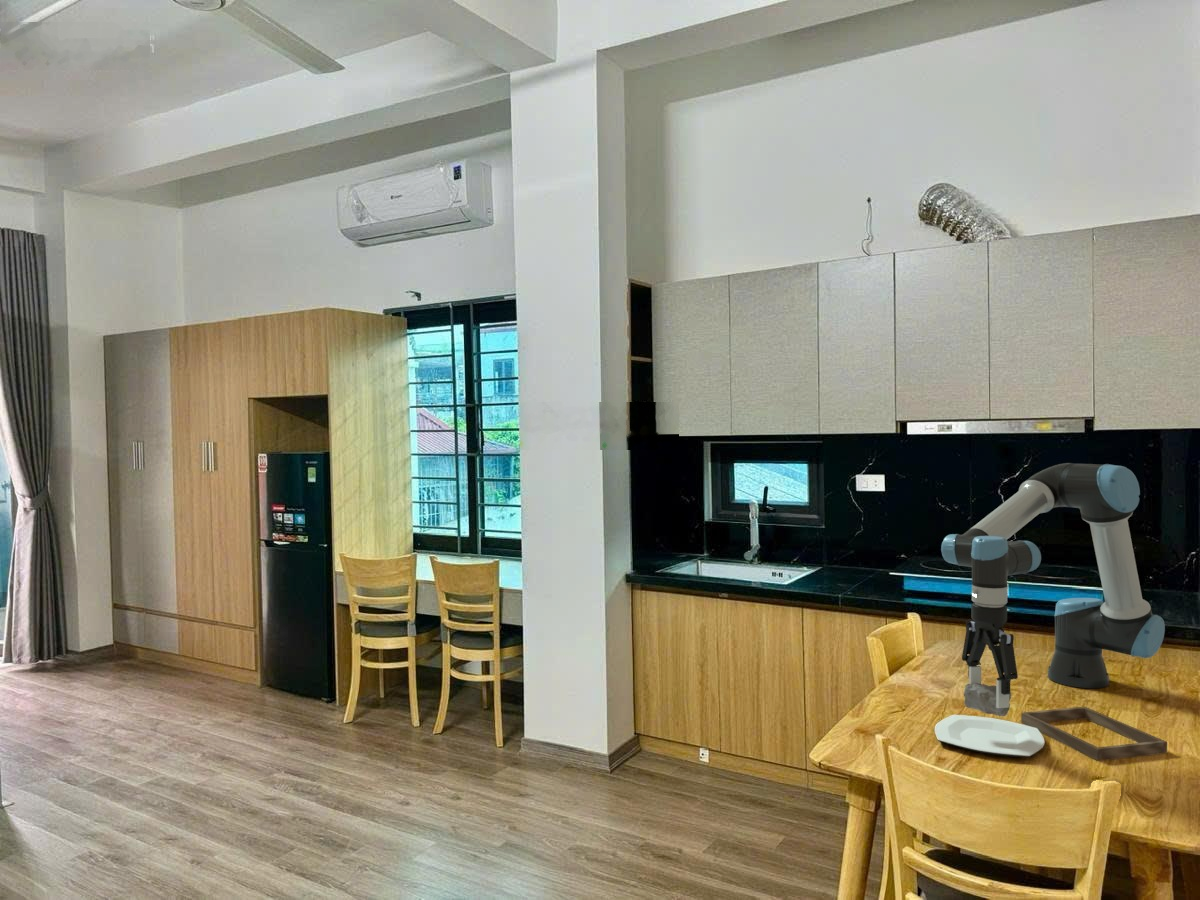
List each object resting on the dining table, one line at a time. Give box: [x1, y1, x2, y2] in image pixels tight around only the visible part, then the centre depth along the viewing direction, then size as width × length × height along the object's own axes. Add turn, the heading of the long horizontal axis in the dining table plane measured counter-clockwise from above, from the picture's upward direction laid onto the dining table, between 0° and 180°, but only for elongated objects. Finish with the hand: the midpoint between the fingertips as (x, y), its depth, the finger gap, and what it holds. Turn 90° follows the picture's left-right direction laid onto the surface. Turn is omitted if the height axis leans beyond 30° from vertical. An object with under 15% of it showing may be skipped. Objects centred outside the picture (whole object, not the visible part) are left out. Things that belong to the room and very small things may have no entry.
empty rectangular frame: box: [1020, 706, 1168, 762], centre depth 201 cm, size 18×24×2 cm
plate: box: [934, 714, 1046, 758], centre depth 200 cm, size 23×23×2 cm
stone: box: [963, 683, 1012, 717], centre depth 200 cm, size 8×10×6 cm
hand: (988, 700), depth 199 cm, fingers closed on stone, 9 cm apart
